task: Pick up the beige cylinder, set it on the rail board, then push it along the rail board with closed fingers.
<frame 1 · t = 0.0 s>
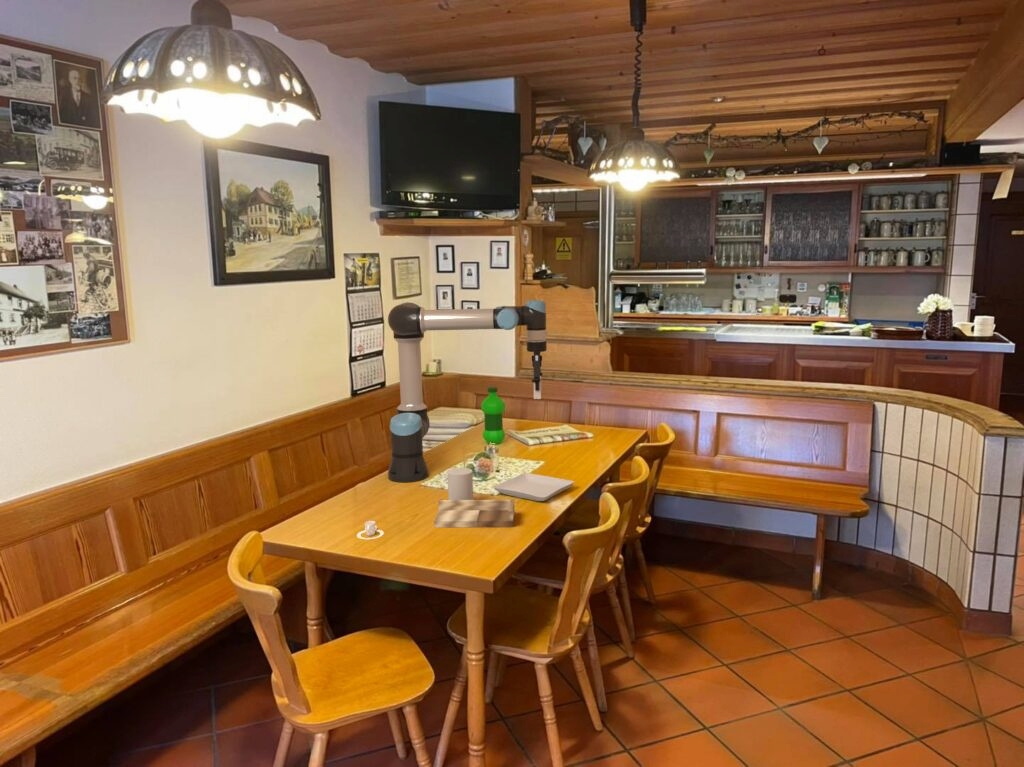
hand: (537, 395, 286), 28 cm above the table, fingers open, 13 cm apart
teacup and saucer: (379, 534, 222), on the table
beige cylinder: (461, 507, 244), on the table
plastic bottle: (494, 443, 328), on the table
rail board: (475, 521, 230), on the table
salad plate: (534, 493, 258), on the table
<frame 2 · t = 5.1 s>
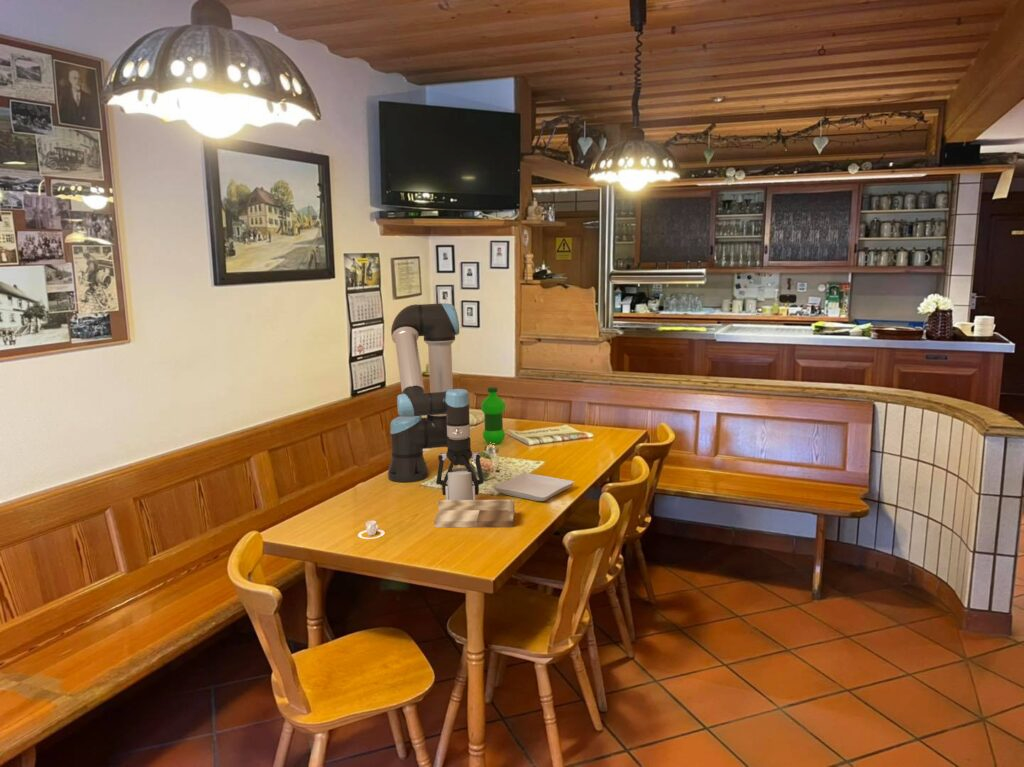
hand: (461, 504, 244), 1 cm above the table, fingers closed on beige cylinder, 8 cm apart
beige cylinder: (461, 507, 244), on the table, touching gripper
everything else where it was.
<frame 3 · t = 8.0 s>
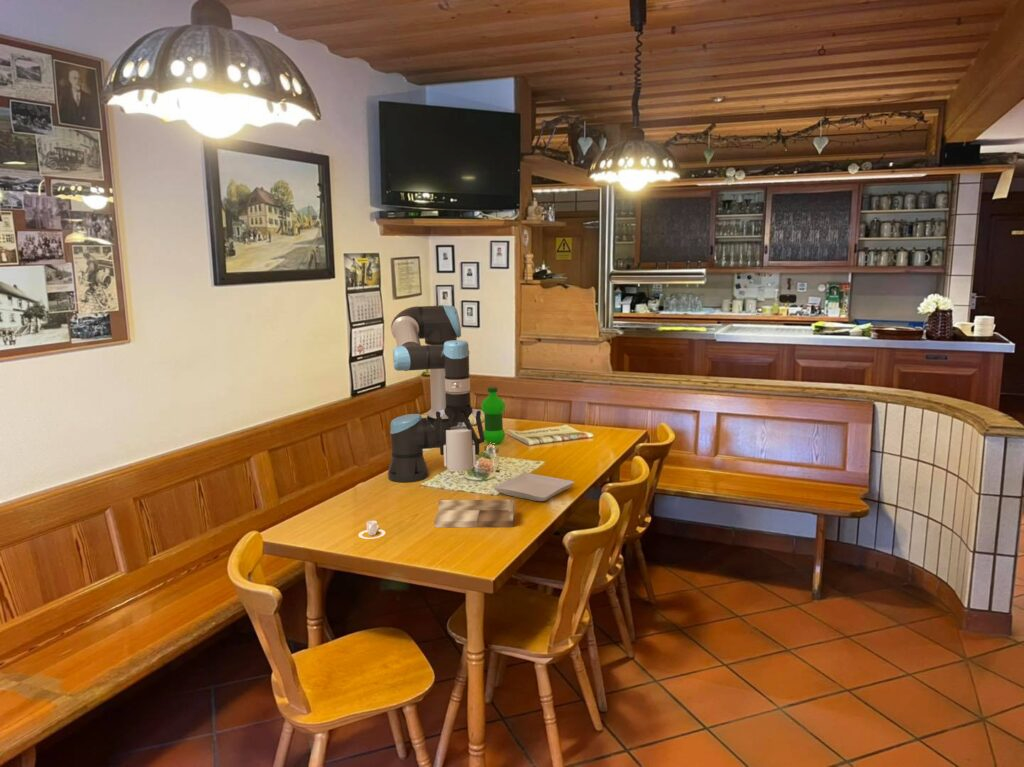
hand: (460, 464, 227), 18 cm above the table, fingers closed on beige cylinder, 8 cm apart
beige cylinder: (460, 468, 227), point 17 cm above the table, touching gripper
everything else where it was.
when the fingers open (4 cm above the table, at t = 10.8 s): beige cylinder drops 1 cm, resting on rail board.
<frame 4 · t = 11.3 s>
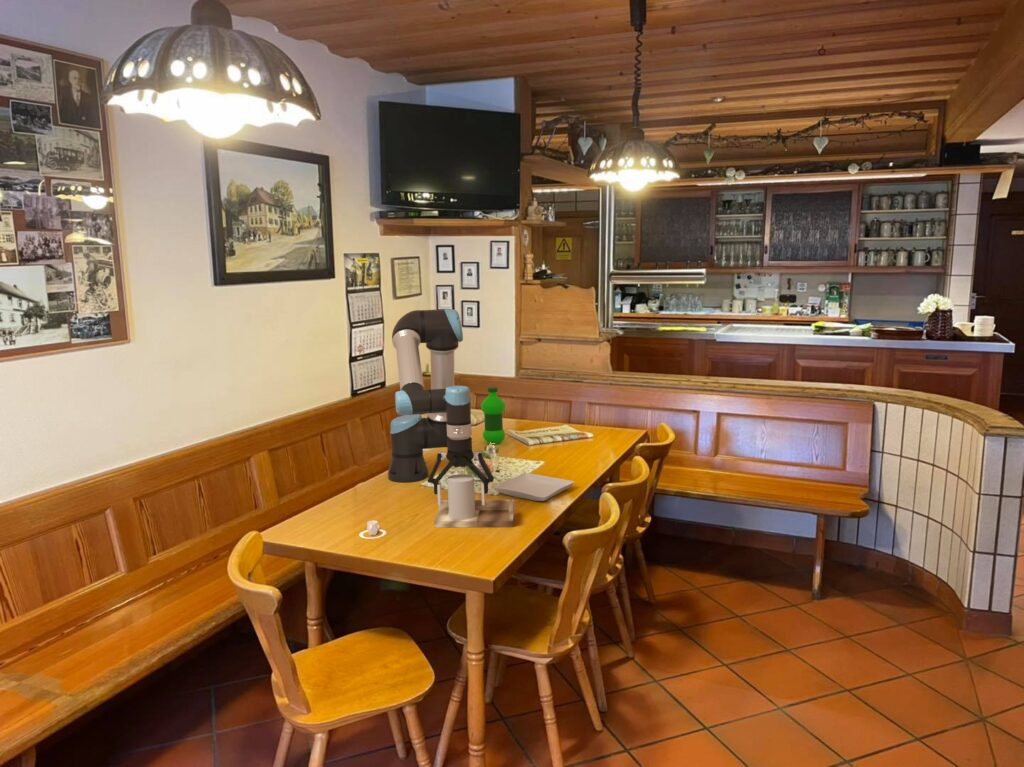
hand: (461, 504, 229), 6 cm above the table, fingers open, 13 cm apart
beige cylinder: (462, 516, 229), point 2 cm above the table, touching rail board
everything else where it was.
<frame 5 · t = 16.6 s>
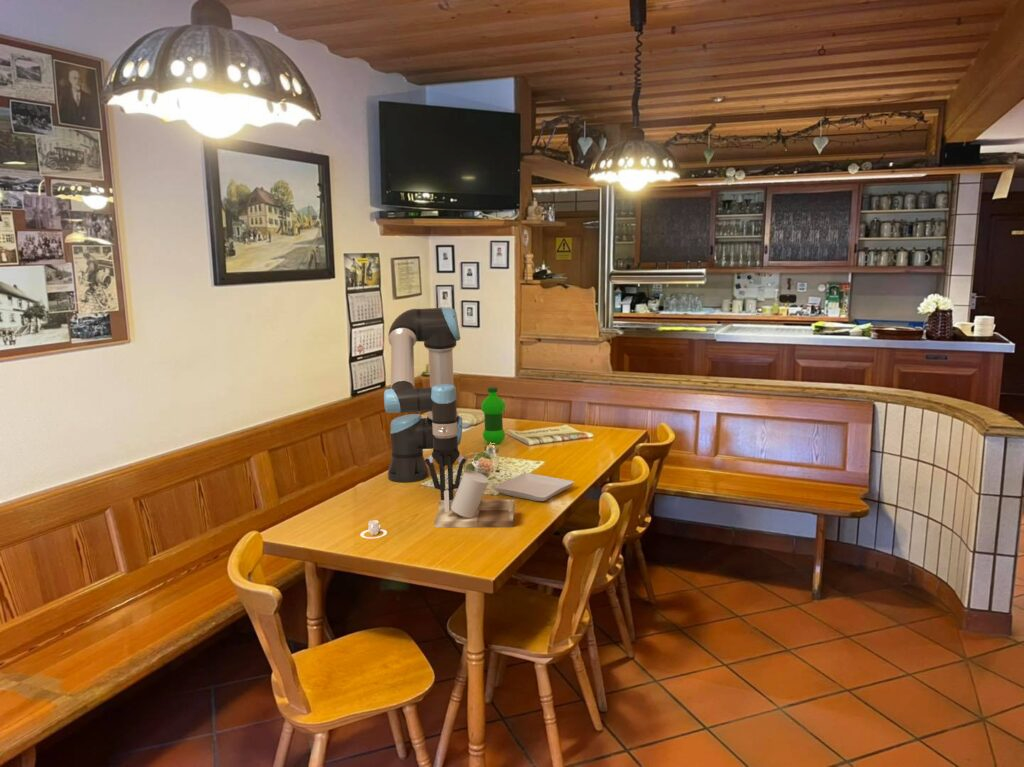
hand: (447, 510, 229), 4 cm above the table, fingers closed
beige cylinder: (462, 511, 229), point 3 cm above the table, touching gripper, hand, rail board
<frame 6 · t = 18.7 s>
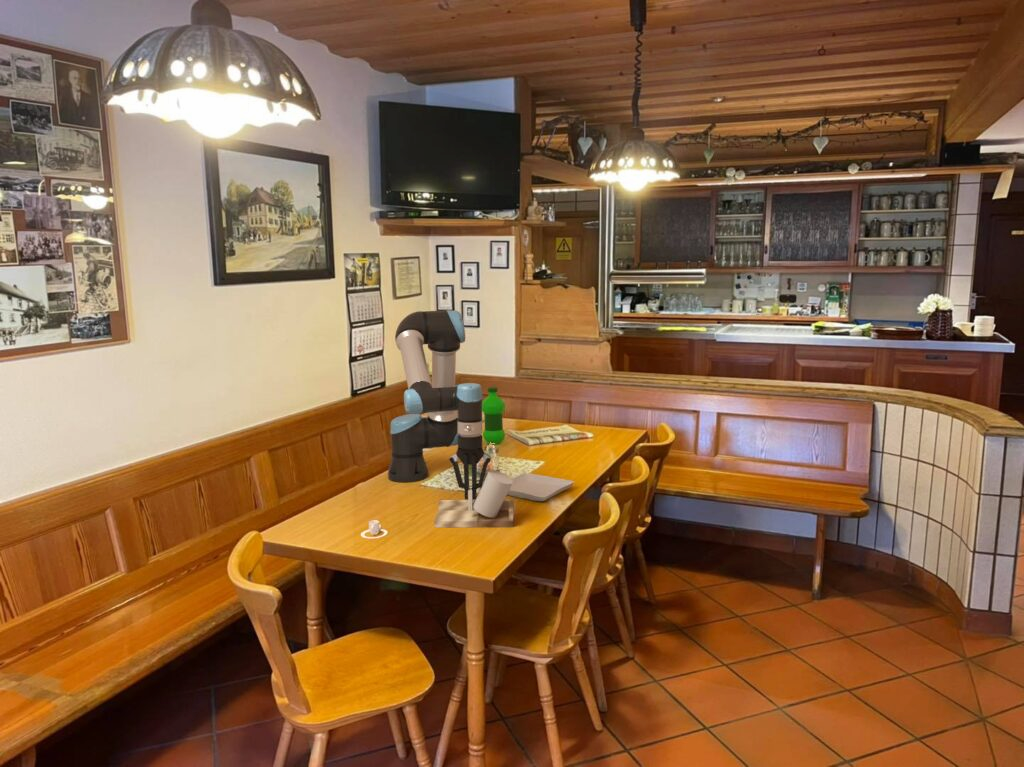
hand: (470, 509, 228), 4 cm above the table, fingers closed
beige cylinder: (484, 510, 228), point 4 cm above the table, touching gripper, hand, rail board
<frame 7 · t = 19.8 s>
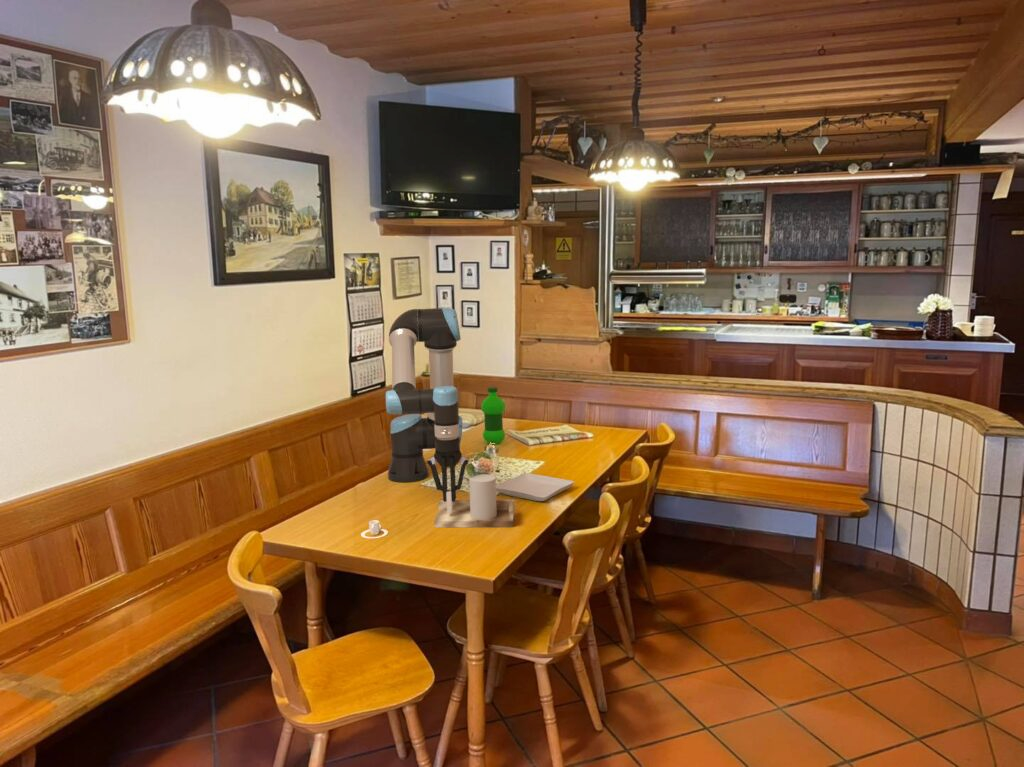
hand: (450, 511, 229), 3 cm above the table, fingers closed
beige cylinder: (483, 516, 229), point 2 cm above the table, touching rail board
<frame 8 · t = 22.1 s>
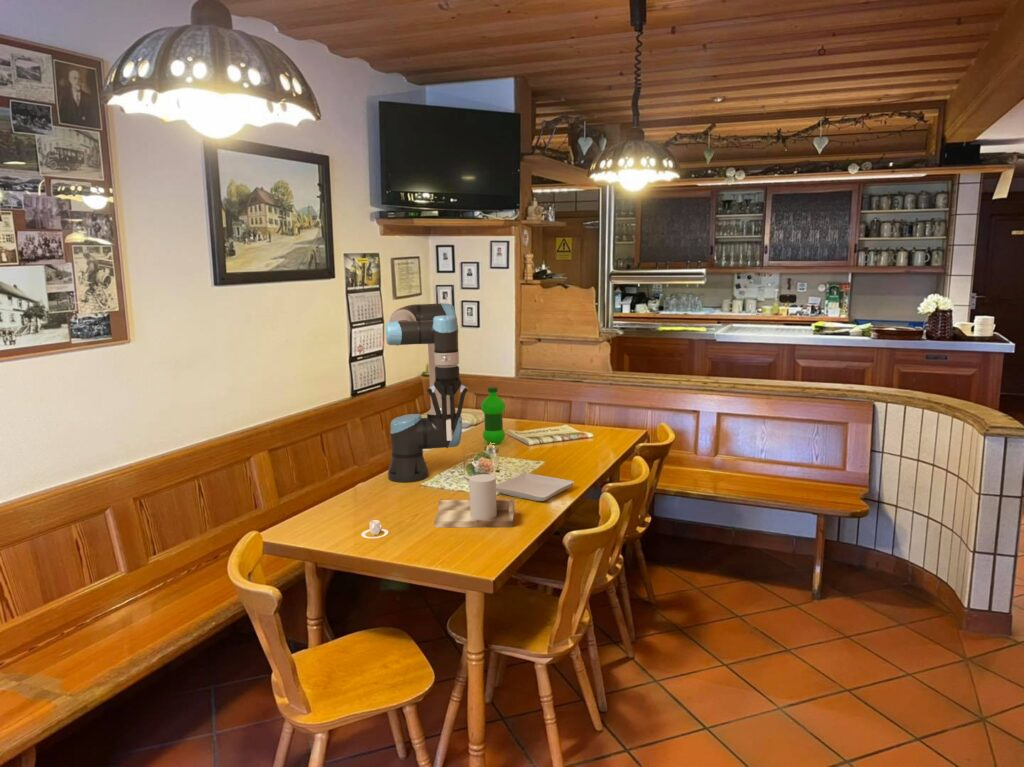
hand: (449, 439, 233), 24 cm above the table, fingers closed
at the end: beige cylinder inside the target area on the rail board (3.6 cm from its centre), point 1.8 cm above the rail board's base; beige cylinder tilted 0°; the gripper is holding nothing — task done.
